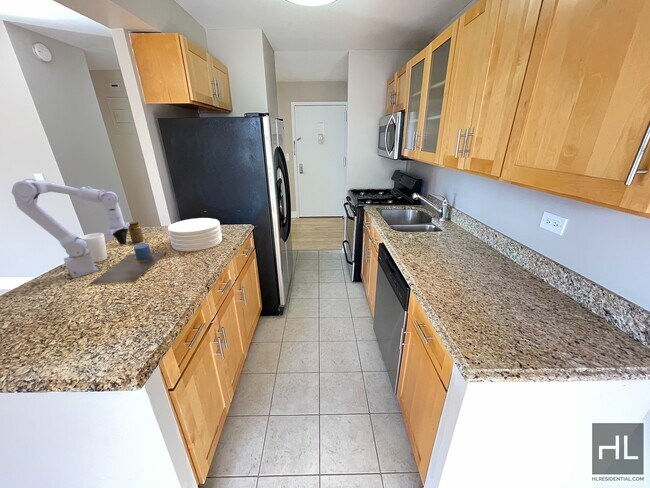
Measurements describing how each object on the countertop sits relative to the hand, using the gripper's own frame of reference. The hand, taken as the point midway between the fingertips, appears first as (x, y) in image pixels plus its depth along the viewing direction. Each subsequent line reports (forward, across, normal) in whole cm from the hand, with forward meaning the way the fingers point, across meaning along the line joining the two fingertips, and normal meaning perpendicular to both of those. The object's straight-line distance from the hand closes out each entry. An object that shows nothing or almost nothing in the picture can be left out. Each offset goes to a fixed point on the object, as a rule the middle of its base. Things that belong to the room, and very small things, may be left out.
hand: (123, 244), depth 128 cm
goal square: (+10, +5, -4) cm, 12 cm away
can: (+10, +5, -5) cm, 12 cm away
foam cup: (+11, +7, +18) cm, 22 cm away
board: (+10, -5, -4) cm, 12 cm away
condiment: (+11, +32, +12) cm, 35 cm away
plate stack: (+10, +26, -25) cm, 38 cm away
